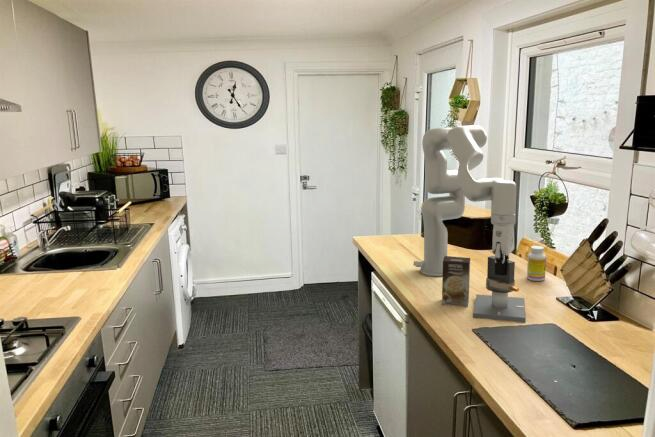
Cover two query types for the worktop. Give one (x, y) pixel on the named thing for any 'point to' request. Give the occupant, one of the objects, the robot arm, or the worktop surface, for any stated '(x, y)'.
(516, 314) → the post base
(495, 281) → the rotary knob
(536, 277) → the supplement bottle
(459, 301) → the coffee box
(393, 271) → the worktop surface
